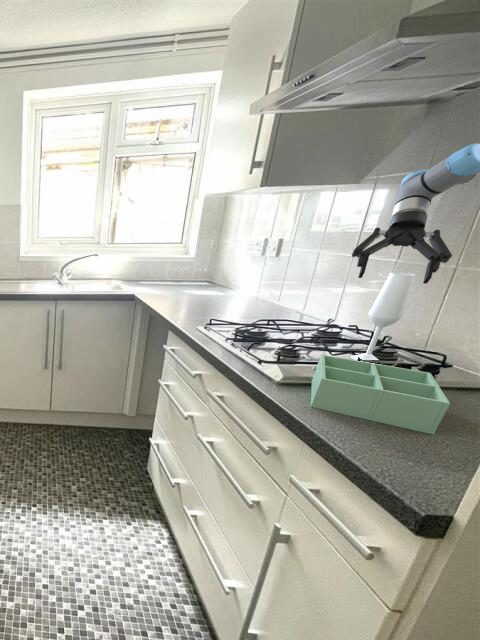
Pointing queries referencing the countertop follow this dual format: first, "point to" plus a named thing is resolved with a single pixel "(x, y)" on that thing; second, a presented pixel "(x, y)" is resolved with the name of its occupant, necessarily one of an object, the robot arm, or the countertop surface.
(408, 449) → the countertop surface
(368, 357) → the champagne flute
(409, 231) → the robot arm
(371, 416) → the divided storage box
